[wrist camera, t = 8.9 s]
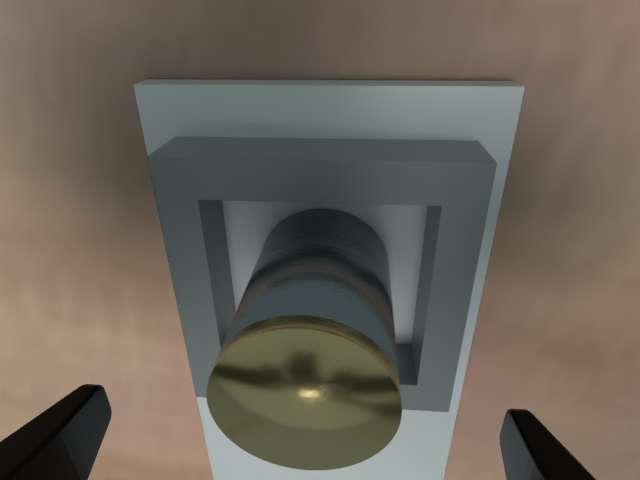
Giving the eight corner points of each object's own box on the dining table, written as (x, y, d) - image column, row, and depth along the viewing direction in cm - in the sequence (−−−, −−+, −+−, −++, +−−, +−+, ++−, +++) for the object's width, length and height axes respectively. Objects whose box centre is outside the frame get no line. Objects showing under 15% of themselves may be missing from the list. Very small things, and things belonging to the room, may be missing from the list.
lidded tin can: (393, 210, 14) (410, 339, 8) (384, 319, 16) (394, 477, 11) (256, 206, 14) (192, 328, 9) (266, 313, 16) (219, 463, 11)
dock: (513, 80, 13) (554, 101, 10) (433, 492, 22) (443, 558, 20) (148, 79, 13) (96, 97, 11) (222, 477, 23) (204, 538, 20)
